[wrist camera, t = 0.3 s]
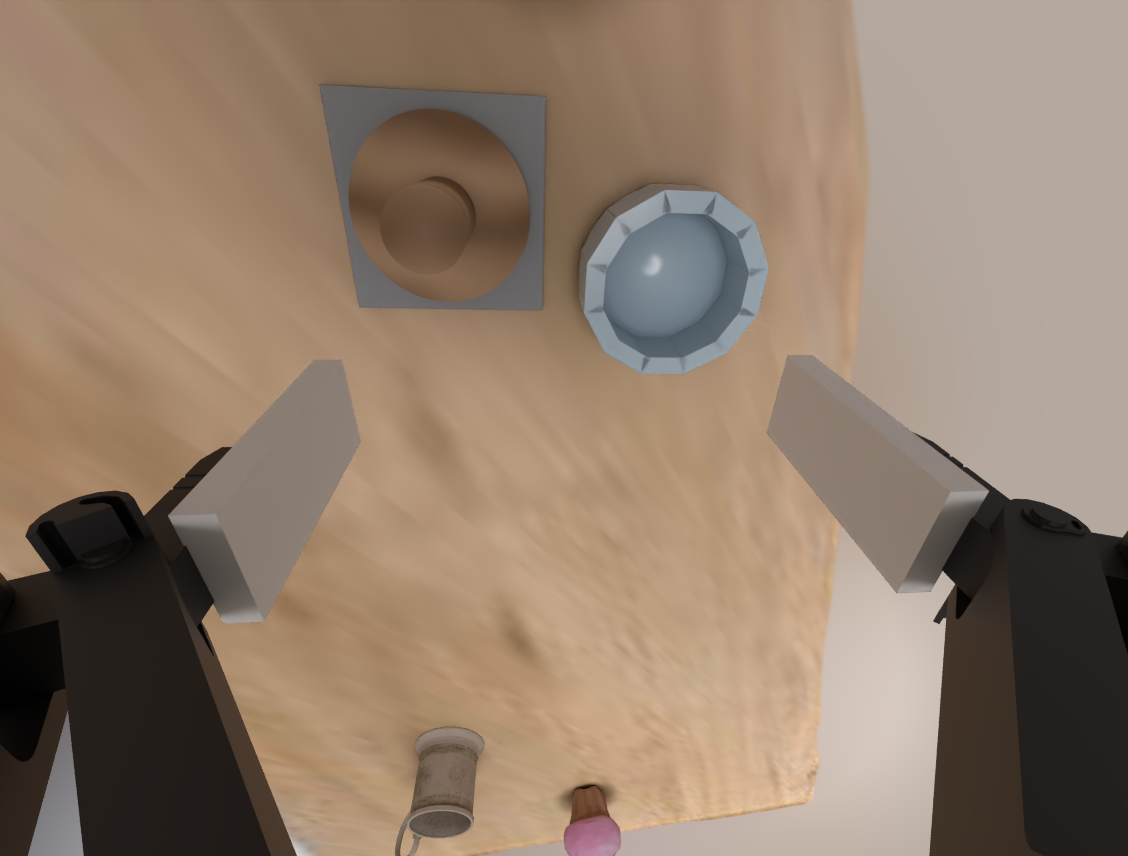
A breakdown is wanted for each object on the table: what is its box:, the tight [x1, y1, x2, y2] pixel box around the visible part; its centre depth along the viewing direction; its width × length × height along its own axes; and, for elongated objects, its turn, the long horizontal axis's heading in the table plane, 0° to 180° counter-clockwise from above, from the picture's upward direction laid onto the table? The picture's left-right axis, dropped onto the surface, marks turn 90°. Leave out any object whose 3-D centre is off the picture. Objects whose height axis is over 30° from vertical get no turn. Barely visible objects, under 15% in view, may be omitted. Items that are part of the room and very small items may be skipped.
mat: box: [320, 85, 546, 310], centre depth 35 cm, size 14×14×1 cm
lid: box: [348, 109, 530, 302], centre depth 31 cm, size 12×12×8 cm
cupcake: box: [564, 786, 621, 856], centre depth 78 cm, size 9×9×10 cm
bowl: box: [578, 184, 769, 374], centre depth 36 cm, size 12×12×5 cm
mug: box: [395, 727, 484, 856], centre depth 67 cm, size 14×10×12 cm
